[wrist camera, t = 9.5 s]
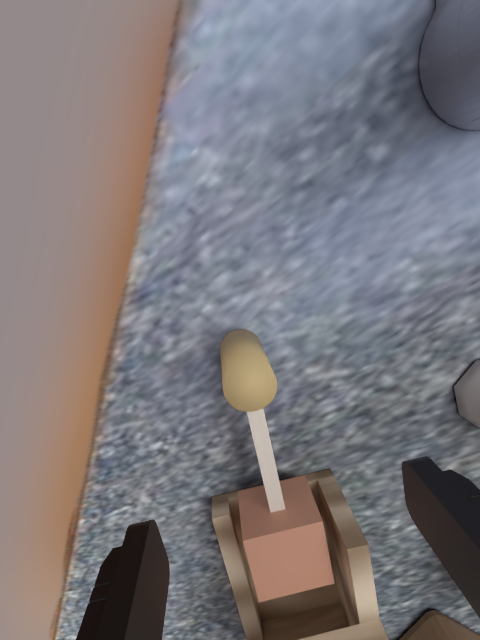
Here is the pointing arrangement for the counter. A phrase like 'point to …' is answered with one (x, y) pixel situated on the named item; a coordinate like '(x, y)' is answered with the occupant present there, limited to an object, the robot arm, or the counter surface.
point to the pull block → (272, 486)
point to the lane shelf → (316, 604)
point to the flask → (469, 394)
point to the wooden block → (438, 629)
